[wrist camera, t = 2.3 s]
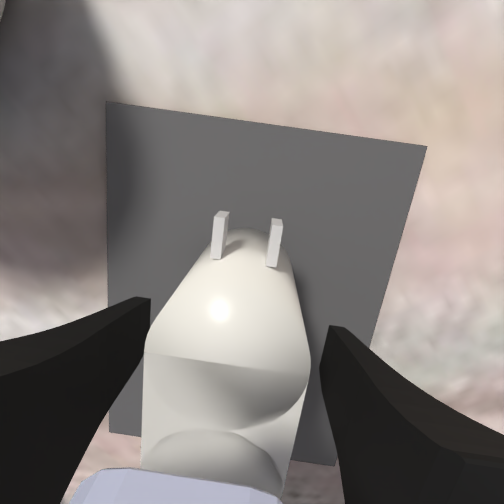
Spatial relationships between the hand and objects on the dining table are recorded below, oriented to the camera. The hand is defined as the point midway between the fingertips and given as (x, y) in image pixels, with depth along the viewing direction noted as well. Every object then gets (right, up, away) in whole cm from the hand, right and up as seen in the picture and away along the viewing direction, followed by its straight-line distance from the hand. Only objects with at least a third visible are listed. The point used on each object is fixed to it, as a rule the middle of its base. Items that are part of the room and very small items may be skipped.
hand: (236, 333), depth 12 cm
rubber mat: (0, +1, +2) cm, 2 cm away
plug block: (0, 0, +1) cm, 2 cm away
